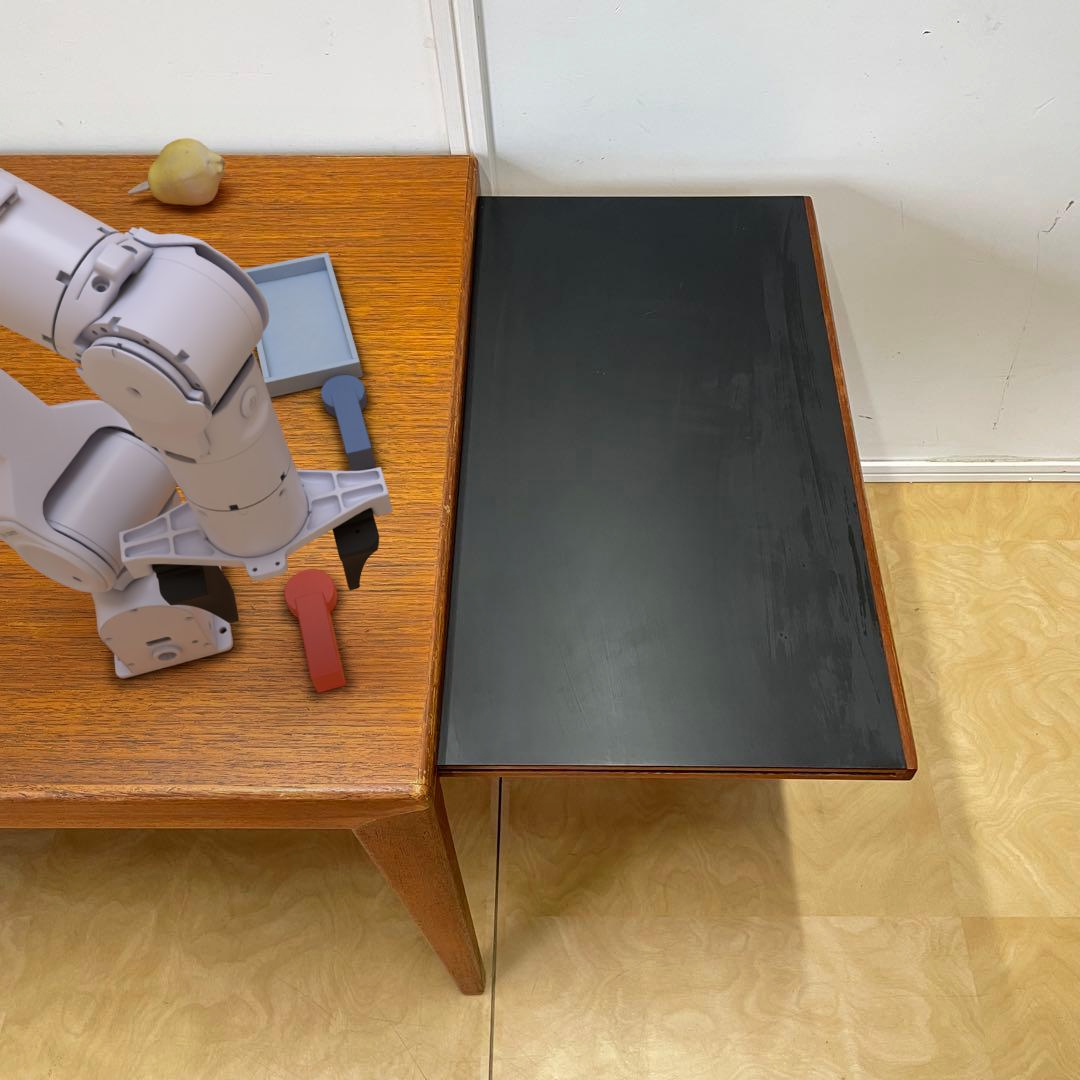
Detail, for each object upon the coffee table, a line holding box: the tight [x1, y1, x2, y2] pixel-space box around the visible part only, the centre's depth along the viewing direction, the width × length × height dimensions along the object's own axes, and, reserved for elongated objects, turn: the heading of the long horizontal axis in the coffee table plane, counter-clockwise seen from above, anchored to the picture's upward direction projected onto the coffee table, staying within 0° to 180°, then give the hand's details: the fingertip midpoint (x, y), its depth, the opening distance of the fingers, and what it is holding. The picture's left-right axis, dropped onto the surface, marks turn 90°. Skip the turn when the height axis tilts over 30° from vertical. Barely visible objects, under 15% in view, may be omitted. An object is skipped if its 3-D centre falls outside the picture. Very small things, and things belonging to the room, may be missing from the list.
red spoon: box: [283, 568, 347, 694], centre depth 65 cm, size 9×4×3 cm, turn 18°
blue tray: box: [242, 252, 364, 399], centre depth 81 cm, size 14×8×2 cm, turn 18°
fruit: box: [127, 137, 226, 207], centre depth 88 cm, size 6×6×10 cm
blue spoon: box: [320, 375, 377, 471], centre depth 75 cm, size 9×4×3 cm, turn 18°
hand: (292, 592), depth 58 cm, fingers open, 7 cm apart
